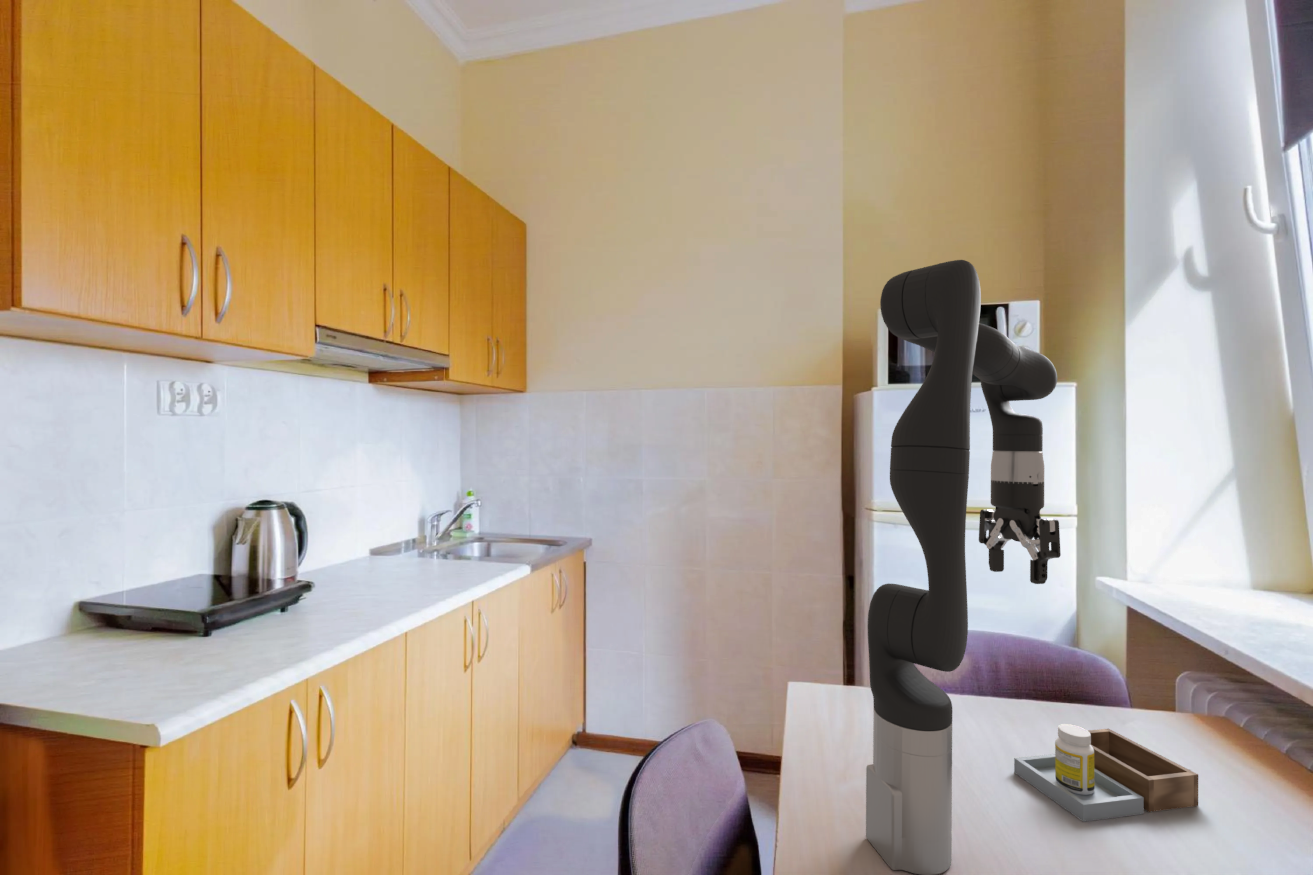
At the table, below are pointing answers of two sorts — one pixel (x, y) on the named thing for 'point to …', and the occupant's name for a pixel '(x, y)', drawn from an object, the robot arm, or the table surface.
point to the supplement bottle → (1074, 759)
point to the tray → (1098, 805)
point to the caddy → (1144, 772)
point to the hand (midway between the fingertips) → (1016, 577)
